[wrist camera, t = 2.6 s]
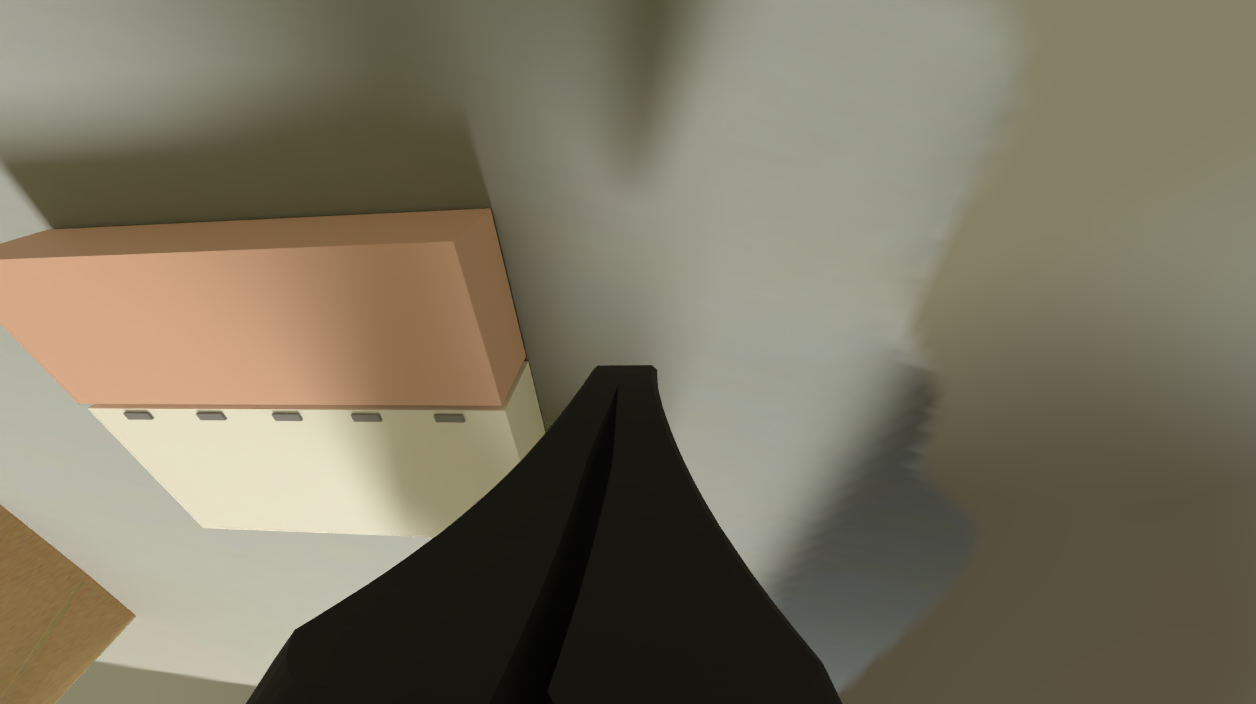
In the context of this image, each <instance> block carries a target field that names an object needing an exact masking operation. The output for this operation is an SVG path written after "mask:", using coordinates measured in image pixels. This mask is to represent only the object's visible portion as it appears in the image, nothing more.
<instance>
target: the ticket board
mask: <svg viewBox="0 0 1256 704" xmlns="http://www.w3.org/2000/svg"><path fill="white" fill-rule="evenodd" d="M88 409H89V410H90V411H91V412H92V413H93V415H94V416H95V417H96V418H97V419H98V420H99V421H100V422H101V423H102V424H103V425H104V426H105V427H106V428H107V429H108V430H109V431H110V432H111V433H112V434H113V435H114V436H115V437H116V438H117V439H118V440H119V441H120V442H121V444H122V445H123V446H124V447H125V448H126V449H127V450H128V451H129V452H130V453H131V454H132V455H133V456H134V457H135V458H136V459H137V460H138V461H139V462H140V463H141V464H142V465H143V466H144V467H145V468H146V469H147V470H148V471H149V473H150V474H151V475H152V476H153V477H154V478H155V479H156V480H157V481H158V482H159V483H160V484H161V485H162V486H163V487H164V488H165V489H166V490H167V491H168V492H169V493H170V494H171V495H172V496H173V497H174V498H175V499H176V500H177V502H178V503H179V504H180V505H181V506H182V507H183V508H184V509H185V510H186V511H187V512H188V513H189V514H190V515H191V516H192V517H193V518H194V519H195V520H196V521H197V522H198V523H199V524H200V525H201V526H202V527H203V528H214V529H239V530H265V531H290V532H315V533H340V534H365V535H390V536H415V537H436V536H437V535H438V534H440V533H441V532H442V531H443V530H445V529H446V528H447V527H448V526H449V525H451V524H452V523H453V522H454V521H456V520H457V519H458V518H459V517H460V516H462V515H463V514H464V513H465V512H466V511H467V510H469V509H470V508H471V507H472V506H473V505H474V504H476V503H477V502H478V501H479V500H480V499H481V498H483V497H484V496H485V495H486V494H487V493H488V492H489V491H490V490H491V489H492V488H493V487H495V486H496V485H497V484H498V483H499V482H500V481H501V480H502V479H503V478H504V477H505V476H506V475H507V474H508V473H509V472H510V471H511V470H512V469H513V468H514V467H515V466H516V465H517V464H518V463H519V462H520V461H521V460H522V459H523V458H524V457H525V455H526V454H527V453H528V452H529V451H530V450H531V449H532V448H533V447H534V445H535V444H536V443H537V442H538V441H539V440H540V439H541V438H542V436H543V435H544V434H545V429H544V425H543V421H542V417H541V412H540V408H539V404H538V400H537V396H536V391H535V387H534V383H533V379H532V375H531V371H530V366H529V362H528V361H523V364H522V366H521V368H520V370H519V372H518V374H517V376H516V378H515V380H514V382H513V384H512V386H511V388H510V390H509V393H508V395H507V397H506V399H505V401H504V403H503V405H502V406H452V405H220V404H94V405H92V406H90V407H89V408H88Z"/></svg>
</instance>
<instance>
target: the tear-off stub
mask: <svg viewBox="0 0 1256 704" xmlns="http://www.w3.org/2000/svg"><path fill="white" fill-rule="evenodd" d="M0 324H1V325H2V326H3V327H4V328H5V329H6V330H7V331H8V332H9V333H10V334H11V335H12V336H13V337H14V338H15V339H16V340H17V341H18V342H19V343H20V344H21V345H22V346H23V347H24V348H25V349H26V350H27V351H28V352H29V353H30V355H31V356H32V357H33V358H34V359H35V360H36V361H37V362H38V363H39V364H40V365H41V366H42V367H43V368H44V369H45V370H46V371H47V372H48V373H49V374H50V375H51V376H52V377H53V378H54V379H55V380H56V381H57V382H58V383H59V384H60V385H61V386H62V387H63V388H64V389H65V390H66V392H67V393H68V394H69V395H70V396H71V397H72V398H73V399H74V400H75V401H76V402H77V403H78V404H220V405H452V406H502V405H503V403H504V401H505V399H506V397H507V395H508V393H509V390H510V388H511V386H512V384H513V382H514V380H515V378H516V376H517V374H518V372H519V370H520V368H521V366H522V364H523V361H524V359H525V357H526V354H525V350H524V346H523V342H522V338H521V333H520V329H519V325H518V321H517V317H516V313H515V308H514V304H513V300H512V296H511V292H510V288H509V283H508V279H507V275H506V271H505V267H504V263H503V258H502V254H501V250H500V246H499V242H498V238H497V233H496V229H495V225H494V221H493V217H492V213H491V208H487V209H466V210H445V211H425V212H404V213H383V214H362V215H341V216H321V217H300V218H279V219H258V220H237V221H217V222H196V223H175V224H154V225H134V226H113V227H92V228H71V229H50V230H45V231H42V232H38V233H35V234H32V235H28V236H25V237H22V238H18V239H15V240H12V241H8V242H5V243H2V244H0Z"/></svg>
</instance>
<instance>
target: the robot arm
mask: <svg viewBox="0 0 1256 704" xmlns="http://www.w3.org/2000/svg"><path fill="white" fill-rule="evenodd" d="M246 704H842V702H841V700H840V698H839V696H838V694H837V692H836V690H835V688H834V685H833V683H832V681H831V679H830V677H829V675H828V673H827V671H826V669H825V667H824V665H823V663H822V662H821V660H820V659H819V658H818V657H817V655H816V654H815V653H814V652H813V651H812V649H811V648H810V647H809V646H808V645H807V643H806V642H805V641H804V640H803V639H802V637H801V636H800V635H799V634H798V633H797V631H796V630H795V629H794V628H793V626H792V625H791V624H790V623H789V621H788V620H787V619H786V618H785V616H784V615H783V614H782V613H781V611H780V610H779V609H778V608H777V606H776V605H775V604H774V602H773V601H772V600H771V598H770V597H769V596H768V594H767V593H766V592H765V590H764V589H763V588H762V586H761V585H760V584H759V582H758V581H757V580H756V578H755V577H754V576H753V574H752V573H751V572H750V570H749V569H748V567H747V566H746V564H745V563H744V561H743V560H742V558H741V557H740V555H739V554H738V552H737V551H736V550H735V548H734V547H733V545H732V544H731V542H730V541H729V539H728V538H727V536H726V535H725V533H724V532H723V530H722V529H721V527H720V526H719V524H718V522H717V521H716V519H715V517H714V516H713V514H712V512H711V511H710V509H709V507H708V506H707V504H706V502H705V501H704V499H703V497H702V495H701V493H700V492H699V490H698V488H697V486H696V484H695V482H694V481H693V479H692V477H691V475H690V473H689V471H688V469H687V467H686V465H685V462H684V460H683V458H682V456H681V454H680V451H679V449H678V447H677V445H676V442H675V440H674V437H673V435H672V432H671V430H670V427H669V424H668V421H667V419H666V416H665V413H664V410H663V406H662V403H661V399H660V395H659V391H658V381H657V369H655V368H654V367H653V366H652V365H630V366H597V367H596V368H595V369H594V370H593V371H592V372H591V374H590V375H589V377H588V378H587V380H586V381H585V383H584V384H583V385H582V387H581V388H580V390H579V391H578V392H577V394H576V395H575V397H574V398H573V399H572V401H571V402H570V403H569V405H568V406H567V407H566V408H565V410H564V411H563V412H562V413H561V415H560V416H559V417H558V418H557V420H556V421H555V422H554V423H553V425H552V426H551V427H550V428H549V430H548V431H547V432H546V433H545V434H544V435H543V436H542V438H541V439H540V440H539V441H538V442H537V443H536V444H535V445H534V447H533V448H532V449H531V450H530V451H529V452H528V453H527V454H526V455H525V457H524V458H523V459H522V460H521V461H520V462H519V463H518V464H517V465H516V466H515V467H514V468H513V469H512V470H511V471H510V472H509V473H508V474H507V475H506V476H505V477H504V478H503V479H502V480H501V481H500V482H499V483H498V484H497V485H496V486H495V487H493V488H492V489H491V490H490V491H489V492H488V493H487V494H486V495H485V496H484V497H483V498H481V499H480V500H479V501H478V502H477V503H476V504H474V505H473V506H472V507H471V508H470V509H469V510H467V511H466V512H465V513H464V514H463V515H462V516H460V517H459V518H458V519H457V520H456V521H454V522H453V523H452V524H451V525H449V526H448V527H447V528H446V529H445V530H443V531H442V532H441V533H440V534H438V535H437V536H436V537H434V538H433V539H432V540H430V541H429V542H427V543H426V544H425V545H423V546H422V547H421V548H419V549H418V550H417V551H415V552H414V553H413V554H411V555H410V556H408V557H407V558H406V559H404V560H403V561H401V562H400V563H399V564H397V565H396V566H394V567H393V568H391V569H390V570H389V571H387V572H386V573H384V574H383V575H381V576H380V577H378V578H377V579H375V580H374V581H372V582H371V583H369V584H368V585H366V586H365V587H363V588H361V589H360V590H358V591H357V592H355V593H353V594H352V595H350V596H349V597H347V598H346V599H344V600H342V601H341V602H339V603H338V604H336V605H334V606H333V607H331V608H330V609H328V610H326V611H325V612H323V613H322V614H320V615H319V616H317V617H315V618H314V619H312V620H310V621H309V622H307V623H305V624H304V625H302V626H300V627H299V628H297V629H295V631H294V632H293V634H292V635H291V636H290V638H289V639H288V641H287V642H286V643H285V645H284V646H283V648H282V649H281V651H280V652H279V654H278V655H277V656H276V658H275V659H274V661H273V662H272V664H271V666H270V667H269V669H268V670H267V672H266V673H265V675H264V676H263V678H262V679H261V681H260V683H259V684H258V686H257V687H256V689H255V690H254V692H253V694H252V695H251V697H250V698H249V700H248V701H247V703H246Z"/></svg>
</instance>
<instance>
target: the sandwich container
mask: <svg viewBox="0 0 1256 704" xmlns="http://www.w3.org/2000/svg"><path fill="white" fill-rule="evenodd" d="M135 617H136V616H135V614H133V613H132V612H131V611H130V610H129V609H127V608H126V607H125V606H124V605H123V604H122V603H120V602H119V601H118V600H117V599H116V598H115V597H113V596H112V595H111V594H110V593H109V592H108V591H106V590H105V589H104V588H103V587H102V586H100V585H99V584H98V583H97V582H96V581H95V580H93V579H92V578H91V577H90V576H89V575H88V574H86V573H85V572H84V571H83V570H81V569H80V568H79V567H78V566H76V565H75V564H74V563H73V562H71V561H70V560H69V559H68V558H66V557H65V556H64V555H63V554H61V553H60V552H59V551H58V550H56V549H55V548H54V547H53V546H51V545H50V544H49V543H48V542H46V541H45V540H44V539H43V538H41V537H40V536H39V535H38V534H36V533H35V532H34V531H33V530H31V529H30V528H29V527H28V526H26V525H25V524H24V523H23V522H21V521H20V520H19V519H18V518H16V517H15V516H14V515H13V514H11V513H10V512H9V511H8V510H6V509H5V508H4V507H3V506H1V505H0V704H55V703H56V702H57V701H58V700H59V699H60V698H61V697H62V696H63V694H64V693H65V692H66V691H67V690H68V689H69V688H70V687H71V686H72V685H73V684H74V683H75V682H76V680H77V679H78V678H79V677H80V676H81V675H82V674H83V673H84V672H85V671H86V670H87V669H88V667H89V666H90V665H91V664H92V663H93V662H94V661H95V660H96V659H97V658H98V657H99V656H100V655H101V653H102V652H103V651H104V650H105V649H106V648H107V647H108V646H109V645H110V644H111V643H112V642H113V641H114V639H115V638H116V637H117V636H118V635H119V634H120V633H121V632H122V631H123V630H124V629H125V628H126V626H127V625H128V624H129V623H130V622H131V621H132V620H133V619H134V618H135Z"/></svg>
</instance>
